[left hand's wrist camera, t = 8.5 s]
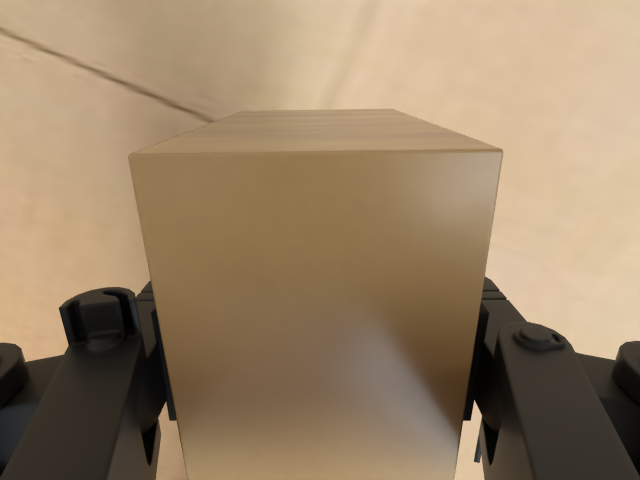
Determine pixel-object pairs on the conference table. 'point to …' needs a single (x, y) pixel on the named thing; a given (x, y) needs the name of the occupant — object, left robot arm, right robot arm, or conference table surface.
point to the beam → (318, 290)
